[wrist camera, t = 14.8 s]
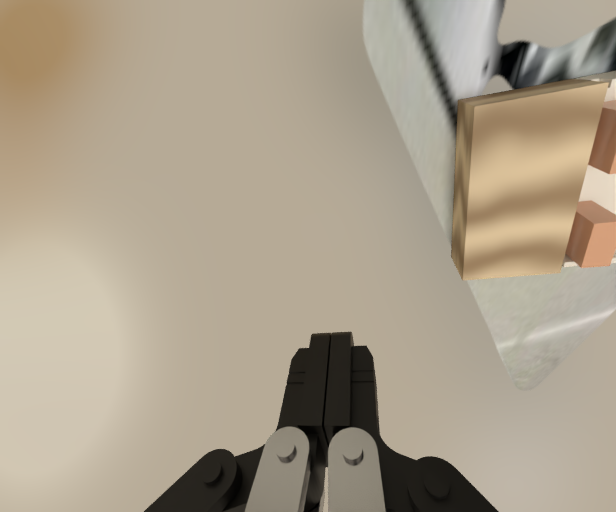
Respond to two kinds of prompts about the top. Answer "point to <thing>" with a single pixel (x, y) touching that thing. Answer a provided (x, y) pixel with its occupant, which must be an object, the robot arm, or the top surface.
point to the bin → (597, 184)
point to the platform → (521, 176)
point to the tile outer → (592, 236)
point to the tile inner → (605, 140)
